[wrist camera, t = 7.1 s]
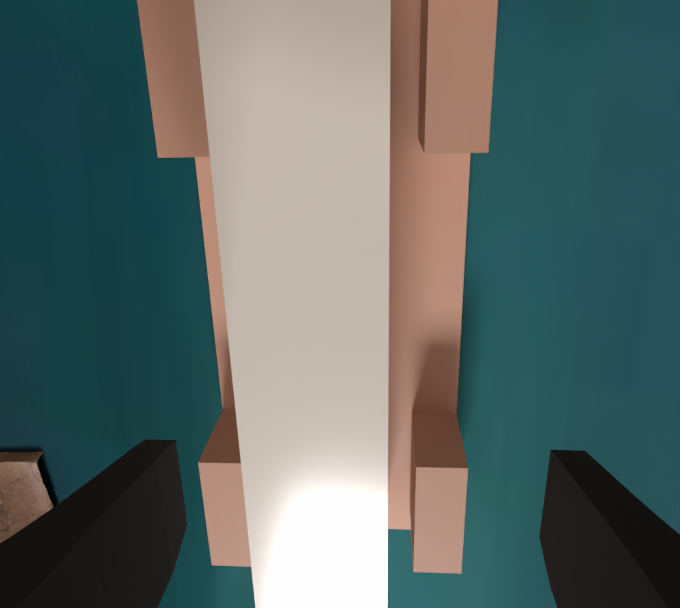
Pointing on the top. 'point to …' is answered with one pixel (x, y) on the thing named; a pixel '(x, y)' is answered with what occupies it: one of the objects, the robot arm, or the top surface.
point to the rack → (404, 257)
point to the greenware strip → (305, 283)
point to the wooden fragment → (20, 492)
